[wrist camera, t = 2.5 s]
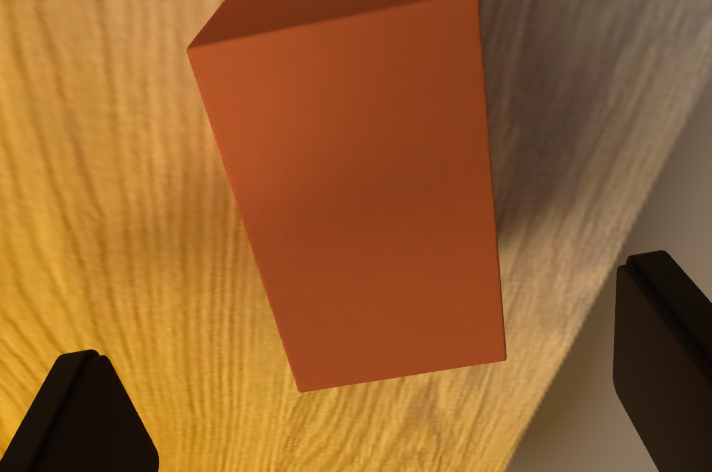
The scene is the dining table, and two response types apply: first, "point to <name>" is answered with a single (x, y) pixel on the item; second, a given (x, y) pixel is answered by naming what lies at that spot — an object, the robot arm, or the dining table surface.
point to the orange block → (361, 179)
